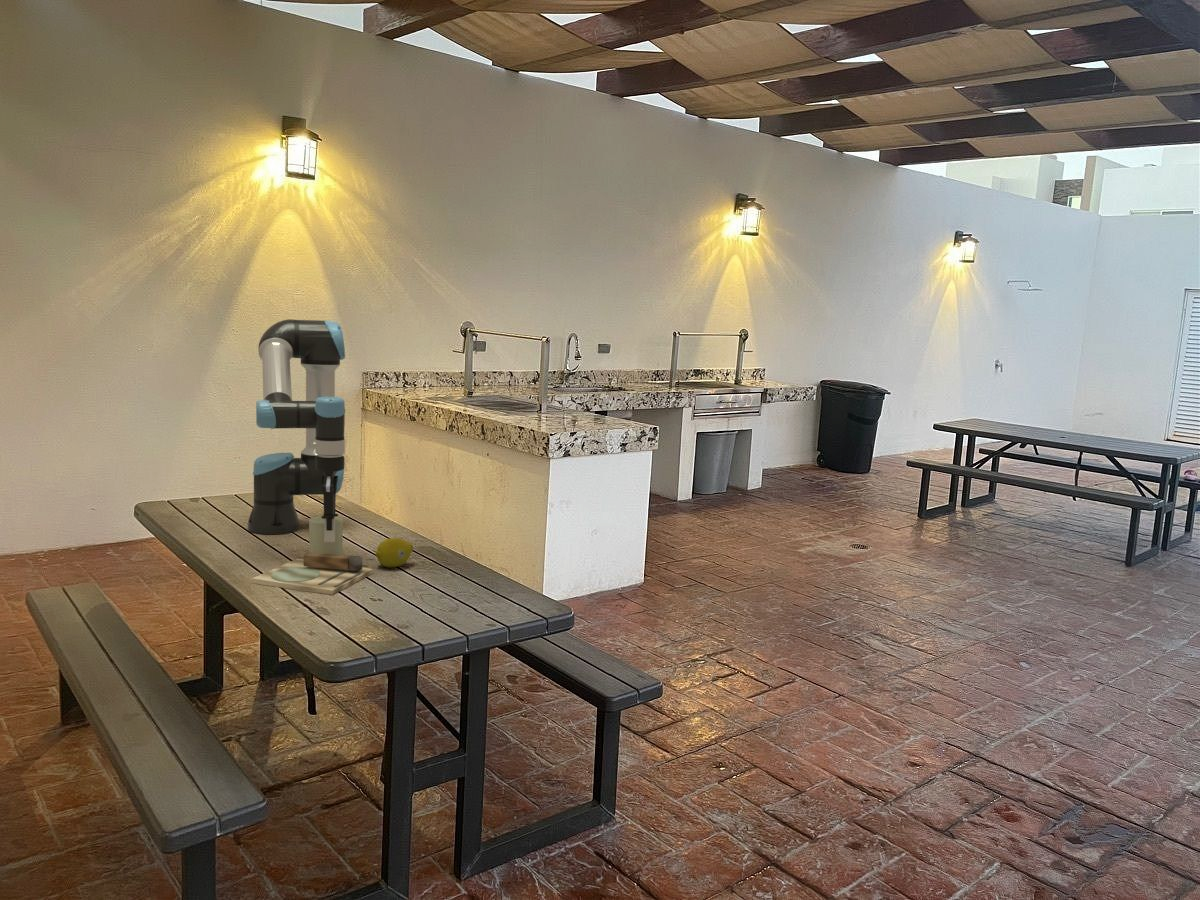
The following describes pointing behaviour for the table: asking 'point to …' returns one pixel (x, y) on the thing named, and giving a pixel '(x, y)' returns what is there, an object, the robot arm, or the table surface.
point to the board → (311, 577)
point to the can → (318, 536)
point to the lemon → (393, 552)
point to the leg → (333, 561)
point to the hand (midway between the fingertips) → (329, 541)
